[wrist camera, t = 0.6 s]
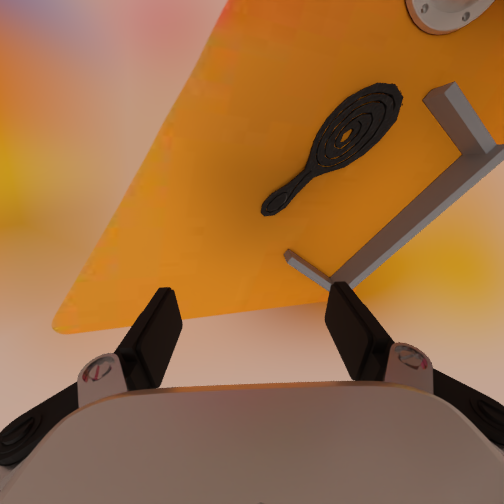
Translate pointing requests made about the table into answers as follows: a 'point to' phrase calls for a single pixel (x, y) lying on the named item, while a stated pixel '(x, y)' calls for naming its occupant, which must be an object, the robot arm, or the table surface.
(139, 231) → the table surface
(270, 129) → the table surface
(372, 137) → the hairbrush
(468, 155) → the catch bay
